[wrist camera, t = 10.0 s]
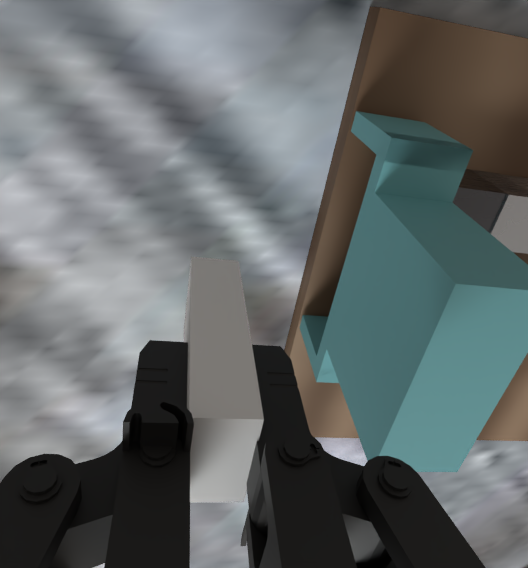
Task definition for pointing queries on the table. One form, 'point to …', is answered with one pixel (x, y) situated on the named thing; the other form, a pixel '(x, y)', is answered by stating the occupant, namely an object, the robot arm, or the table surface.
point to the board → (360, 158)
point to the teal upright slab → (420, 305)
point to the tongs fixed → (497, 206)
